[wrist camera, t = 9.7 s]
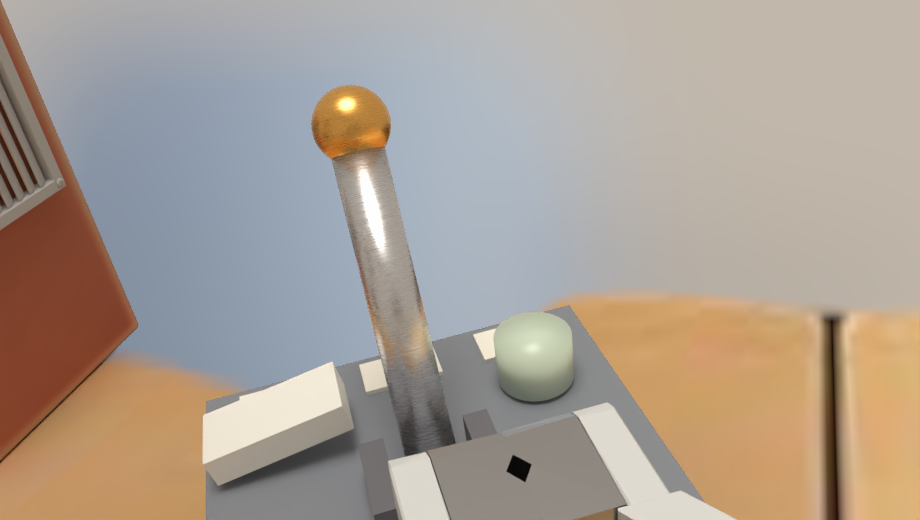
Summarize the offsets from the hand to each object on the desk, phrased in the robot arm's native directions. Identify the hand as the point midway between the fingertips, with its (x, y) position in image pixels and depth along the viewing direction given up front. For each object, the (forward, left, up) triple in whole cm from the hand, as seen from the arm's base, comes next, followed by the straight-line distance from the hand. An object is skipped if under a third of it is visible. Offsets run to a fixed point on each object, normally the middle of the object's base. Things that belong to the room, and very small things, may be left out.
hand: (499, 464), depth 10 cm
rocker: (-16, +5, -12) cm, 20 cm away
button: (-10, +13, -13) cm, 21 cm away
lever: (-9, +7, -13) cm, 18 cm away
